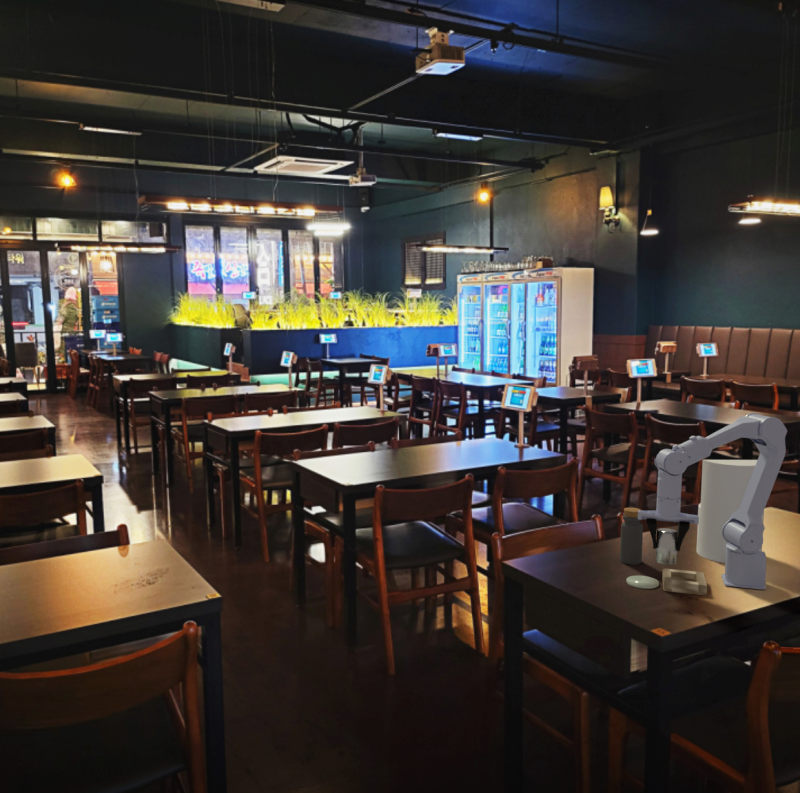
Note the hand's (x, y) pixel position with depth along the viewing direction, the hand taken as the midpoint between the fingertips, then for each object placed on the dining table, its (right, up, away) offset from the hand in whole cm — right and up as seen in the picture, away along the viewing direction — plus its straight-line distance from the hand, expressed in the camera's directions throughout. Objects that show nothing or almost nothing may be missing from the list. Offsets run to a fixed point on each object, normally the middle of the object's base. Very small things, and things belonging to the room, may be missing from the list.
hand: (666, 548), depth 186 cm
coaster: (-5, -9, +2) cm, 11 cm away
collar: (+4, -10, 0) cm, 11 cm away
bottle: (-3, -8, +19) cm, 21 cm away
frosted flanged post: (0, -3, +1) cm, 3 cm away
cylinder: (+27, -7, +25) cm, 38 cm away
